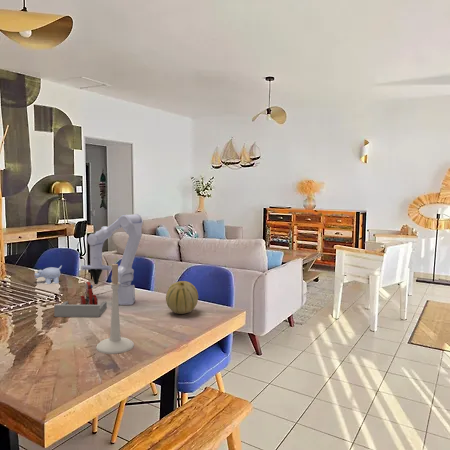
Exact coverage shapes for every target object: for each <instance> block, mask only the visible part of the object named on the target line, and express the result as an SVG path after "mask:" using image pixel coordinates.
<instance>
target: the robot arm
mask: <svg viewBox="0 0 450 450" xmlns="http://www.w3.org/2000/svg"><path fill="white" fill-rule="evenodd" d="M143 225H144V220H143V218H142V217H141V215H140V214H139V213H133V214H122V215H120V216H119V217H118V218H117V219H116V220H115V221H114V222H113V223H111V224H110V225H109V226H105V225H104V226H101V227H100V228H101V229H99V230H96V231H95V233H90V234H89V235H88V236H87V243H88V245H89V262H90V263H89V264H88V265H87V264H86V265H85V264H83V265H81V267H80V270H81V271H84V270H85V271H86V270H88V271H89V273H90V275H91V277H92V279H93V284H94V285H98V284H99V280H100V277H101V274H102V273H103V271H112V265H106V264H103V247H104V243H105V241H107V239H110V238H111V237H112V236H113V233H114V232H115V231H117V230H119V229H121V228H122V229H123V231H124V232H125V233H126V234H127V235H128V238H127V241H126V244H125V248H124V251H123V255H122V256H121V261H120V264H119V265H118V282H119V283H120V284H119V288H118V291H117V292H118V303H119V305H121V306H123V305H124V306H131V305H133V304H134V303H135V301H136V287H135V284H132V281H134V273H135V269H133V264H134V261H135V258H136V254H137V251H138V248H139V245H140V242H141V239H142V236H143V235H142V234H143V233H142V232H143V231H142V230H143V229H142V228H143ZM110 280H111V282H112V275H111V277H110Z"/></svg>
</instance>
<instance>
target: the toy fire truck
mask: <svg viewBox="0 0 450 450" xmlns="http://www.w3.org/2000/svg"><path fill="white" fill-rule="evenodd" d="M85 283H86V284H85V295H81V296H80V305H98V297H97V295H96V294H94V292H93V285H92V284H91V282H90V281H86V282H85Z"/></svg>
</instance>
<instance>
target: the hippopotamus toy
mask: <svg viewBox="0 0 450 450" xmlns="http://www.w3.org/2000/svg"><path fill="white" fill-rule="evenodd" d="M62 267H63V265H62V264H61V265H60V266H59V267H52V266H50V267H46V268H44V269H38V270H37V272H35V273H34V278H35V279H38V278H44V285H50V284H52V285H53V284H59V283H60V280H59V279H60V276H61V269H62Z"/></svg>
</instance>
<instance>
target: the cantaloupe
mask: <svg viewBox="0 0 450 450" xmlns="http://www.w3.org/2000/svg"><path fill="white" fill-rule="evenodd" d="M198 301H199V293H198V289H197V288H196V286H195V285H194V284H193V283H191V282H189V281H186V280H180V281H176V282H174V283H172V284H171V285H170V286H169V287H168V289H167V292H166V295H165V303H166V306H167V307H168V309H169V310H170V311H172V312H173V313H175V314H179V315H184V314H188V313H191V312H192V311H194V309H195V308H196V307H197V305H198Z"/></svg>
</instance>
